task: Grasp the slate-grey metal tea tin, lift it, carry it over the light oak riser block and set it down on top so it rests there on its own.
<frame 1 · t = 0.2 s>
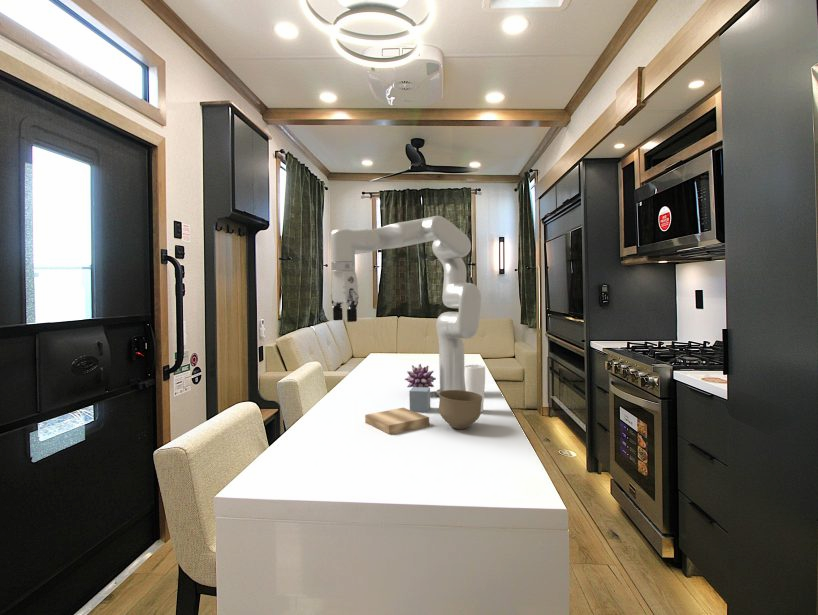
hand: (344, 320, 149), 31 cm above the countertop, fingers open, 9 cm apart
drinking glass: (475, 412, 151), on the countertop
bowl: (460, 428, 135), on the countertop
purple spiky ball: (420, 394, 177), on the countertop
oak riser: (396, 425, 139), on the countertop
slate tea tin: (420, 409, 155), on the countertop
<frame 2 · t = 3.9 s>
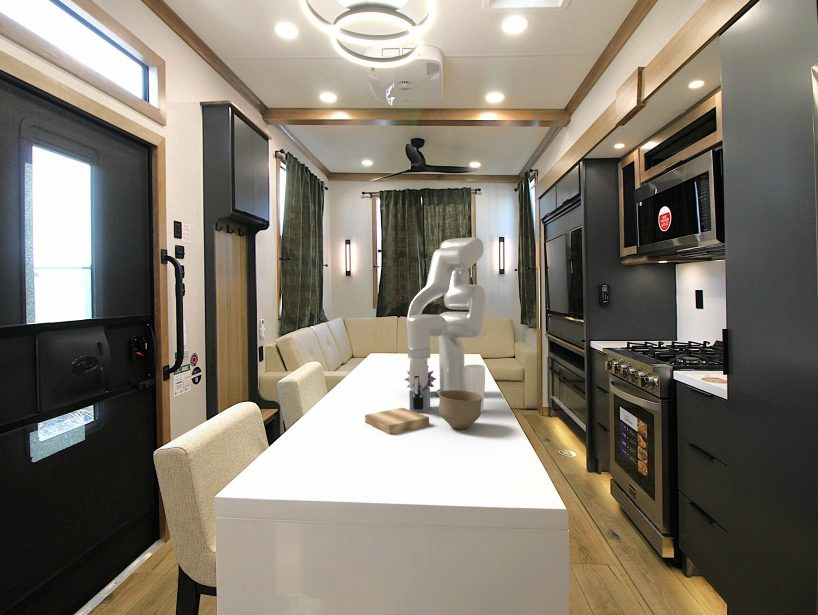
hand: (420, 406, 155), 1 cm above the countertop, fingers closed on slate tea tin, 6 cm apart
slate tea tin: (420, 409, 155), on the countertop, touching gripper
everything else where it was.
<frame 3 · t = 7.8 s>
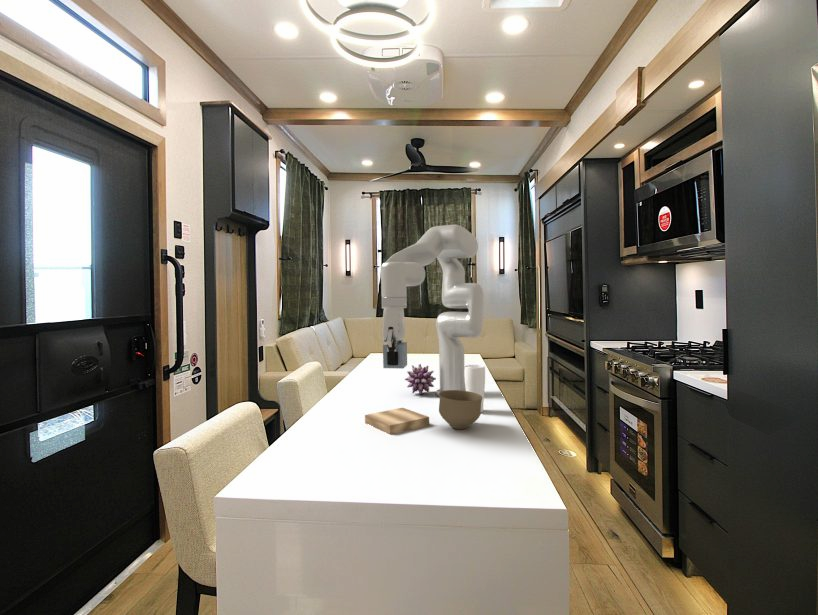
hand: (395, 362, 138), 19 cm above the countertop, fingers closed on slate tea tin, 6 cm apart
slate tea tin: (395, 366, 138), point 18 cm above the countertop, touching gripper
everything else where it was.
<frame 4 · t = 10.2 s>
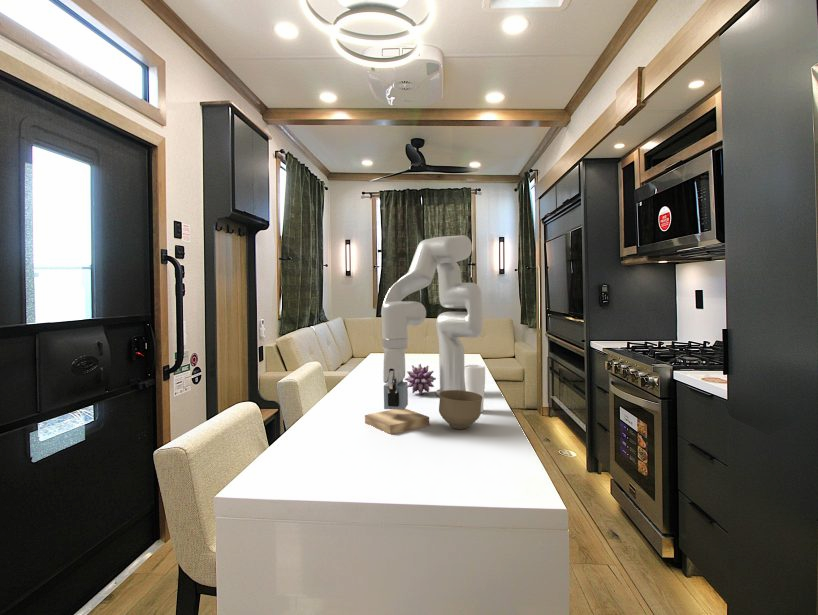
hand: (396, 402, 139), 7 cm above the countertop, fingers closed on slate tea tin, 6 cm apart
slate tea tin: (396, 406, 139), point 5 cm above the countertop, touching gripper
everything else where it was.
when the fingers open (4 cm above the countertop, at t = 12.1 s): slate tea tin stays where it is, resting on oak riser.
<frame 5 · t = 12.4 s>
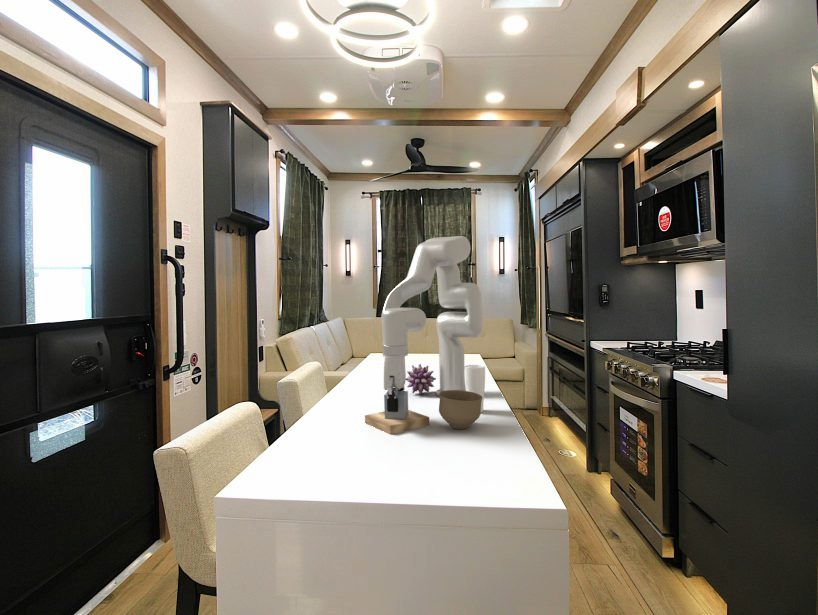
hand: (396, 407, 139), 5 cm above the countertop, fingers open, 9 cm apart
oak riser: (396, 426, 139), on the countertop, touching slate tea tin
slate tea tin: (396, 416, 139), point 2 cm above the countertop, touching oak riser
everything else where it was.
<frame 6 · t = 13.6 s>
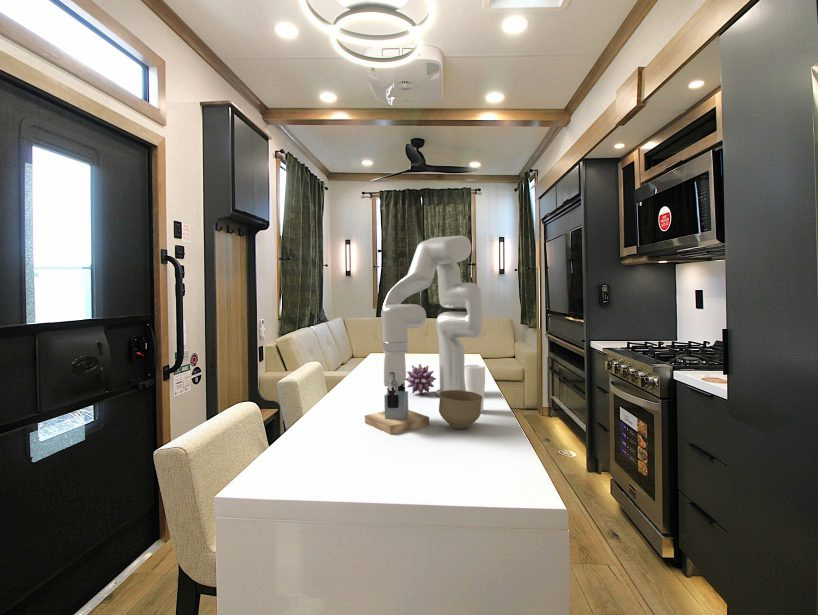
hand: (396, 403, 139), 6 cm above the countertop, fingers open, 9 cm apart
oak riser: (396, 426, 139), on the countertop
slate tea tin: (396, 416, 139), point 2 cm above the countertop
everything else where it was.
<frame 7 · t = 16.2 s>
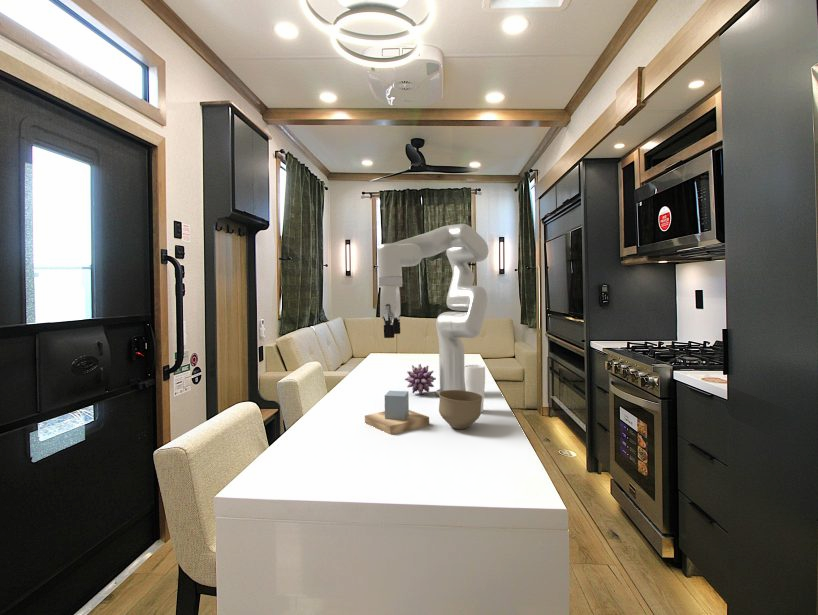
hand: (392, 335, 148), 26 cm above the countertop, fingers open, 9 cm apart
oak riser: (396, 426, 139), on the countertop, touching slate tea tin
slate tea tin: (397, 416, 139), point 2 cm above the countertop, touching oak riser
everything else where it was.
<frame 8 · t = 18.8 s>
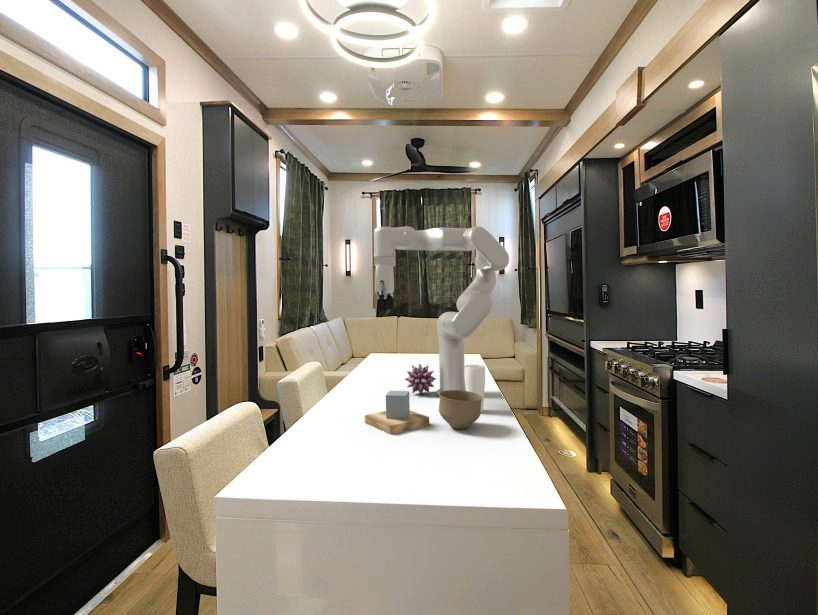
hand: (386, 309, 165), 33 cm above the countertop, fingers open, 9 cm apart
nothing on the countertop moved.
at the end: slate tea tin inside the target area on the oak riser (0.5 cm from its centre), point 3.0 cm above the oak riser's base; slate tea tin tilted 1°; slate tea tin touching oak riser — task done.
